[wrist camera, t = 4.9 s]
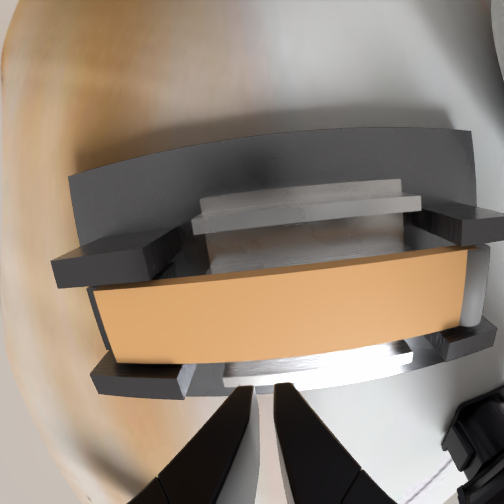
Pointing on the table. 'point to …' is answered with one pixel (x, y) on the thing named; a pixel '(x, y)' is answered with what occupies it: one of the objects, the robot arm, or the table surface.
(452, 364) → the table surface
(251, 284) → the light orange wooden plank
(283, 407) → the robot arm
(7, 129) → the table surface
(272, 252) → the mount
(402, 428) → the table surface
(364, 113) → the table surface
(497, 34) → the serving bowl
